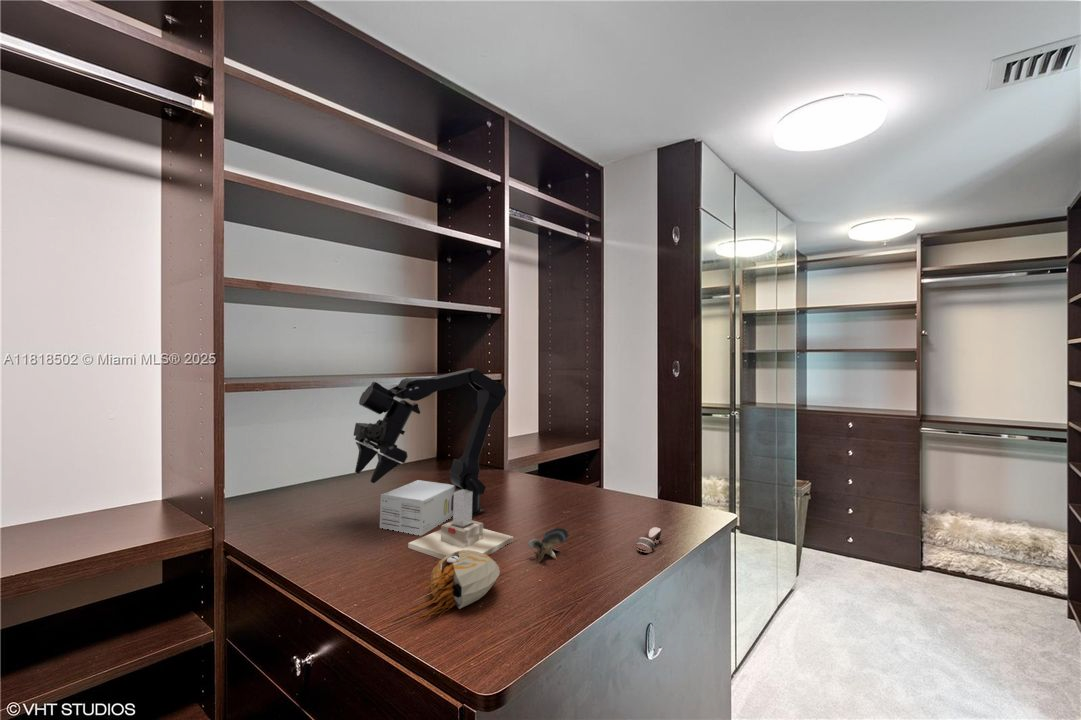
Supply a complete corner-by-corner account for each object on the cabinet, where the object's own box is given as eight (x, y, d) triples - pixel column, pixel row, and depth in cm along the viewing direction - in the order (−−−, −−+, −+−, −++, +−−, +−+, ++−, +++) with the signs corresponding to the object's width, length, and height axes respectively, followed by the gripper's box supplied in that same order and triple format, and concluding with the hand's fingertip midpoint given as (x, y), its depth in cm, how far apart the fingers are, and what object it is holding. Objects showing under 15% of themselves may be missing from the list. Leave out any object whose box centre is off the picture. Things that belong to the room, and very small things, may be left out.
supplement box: (421, 537, 125) (422, 500, 125) (378, 529, 130) (379, 493, 129) (455, 516, 141) (456, 484, 141) (416, 510, 146) (416, 478, 145)
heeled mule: (629, 552, 119) (630, 536, 119) (649, 538, 128) (650, 524, 128) (646, 558, 116) (647, 541, 116) (665, 543, 125) (666, 529, 125)
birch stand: (458, 526, 133) (459, 507, 133) (513, 541, 123) (513, 520, 123) (408, 547, 118) (408, 526, 117) (465, 567, 108) (466, 543, 108)
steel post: (461, 535, 123) (462, 488, 123) (472, 538, 121) (473, 491, 121) (451, 539, 120) (452, 492, 120) (462, 543, 118) (463, 494, 118)
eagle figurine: (561, 563, 109) (575, 542, 117) (543, 535, 109) (559, 516, 117) (536, 574, 112) (552, 552, 120) (519, 547, 113) (536, 527, 121)
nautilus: (434, 643, 81) (380, 616, 90) (518, 587, 98) (465, 569, 107) (431, 596, 81) (377, 573, 90) (516, 548, 98) (463, 533, 107)
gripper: (353, 403, 131) (322, 457, 127) (385, 415, 118) (352, 477, 113) (387, 420, 138) (359, 472, 134) (421, 433, 125) (391, 491, 121)
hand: (364, 477), depth 125 cm, fingers open, 9 cm apart
